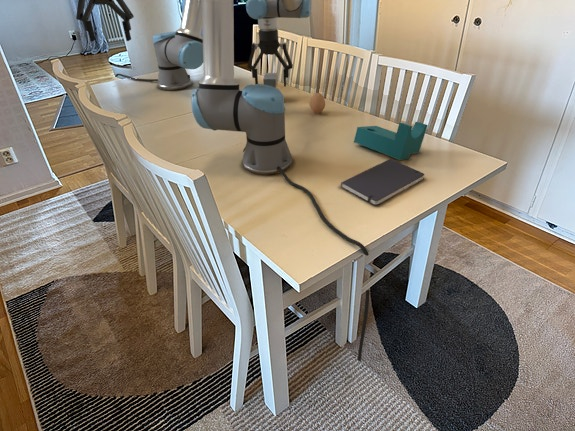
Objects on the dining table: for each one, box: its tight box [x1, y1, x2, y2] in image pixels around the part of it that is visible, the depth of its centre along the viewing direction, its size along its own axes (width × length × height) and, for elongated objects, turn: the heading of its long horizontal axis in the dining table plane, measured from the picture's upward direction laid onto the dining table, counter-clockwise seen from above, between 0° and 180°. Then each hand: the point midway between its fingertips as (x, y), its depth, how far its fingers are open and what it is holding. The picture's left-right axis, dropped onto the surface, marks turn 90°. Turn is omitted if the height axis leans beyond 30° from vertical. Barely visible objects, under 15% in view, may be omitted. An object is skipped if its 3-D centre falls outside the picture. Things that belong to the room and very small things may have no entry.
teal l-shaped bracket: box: [353, 121, 428, 161], centre depth 129 cm, size 18×11×10 cm, turn 43°
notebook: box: [340, 158, 425, 206], centre depth 114 cm, size 13×2×21 cm
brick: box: [262, 72, 279, 90], centre depth 170 cm, size 9×5×10 cm, turn 176°
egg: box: [309, 92, 326, 114], centre depth 156 cm, size 6×6×8 cm
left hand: (111, 40), depth 149 cm, fingers open, 13 cm apart
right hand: (270, 85), depth 169 cm, fingers open, 11 cm apart
